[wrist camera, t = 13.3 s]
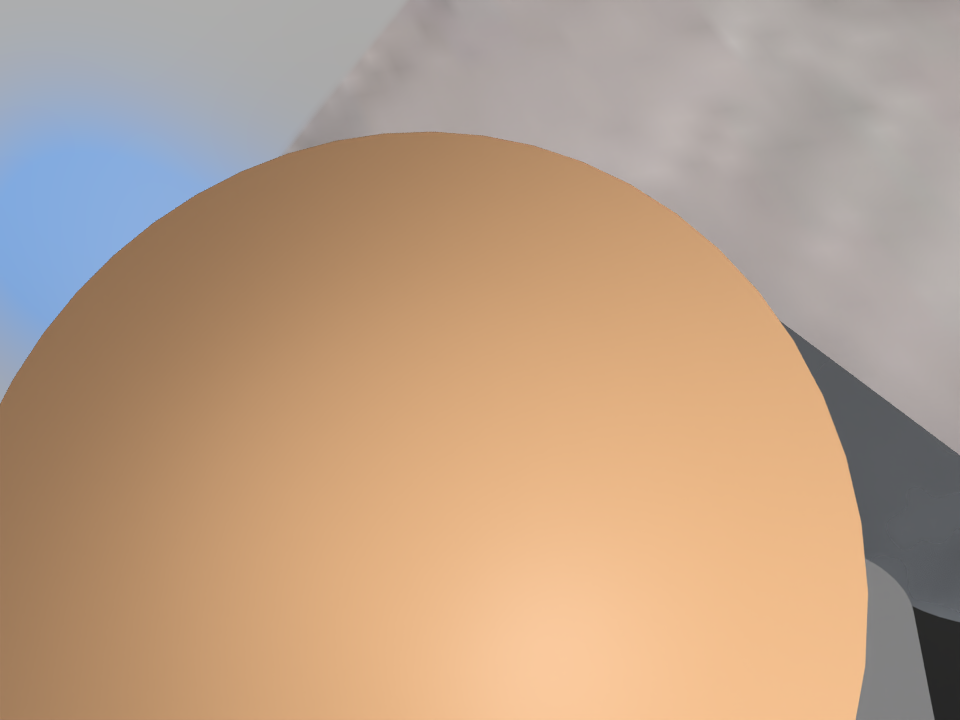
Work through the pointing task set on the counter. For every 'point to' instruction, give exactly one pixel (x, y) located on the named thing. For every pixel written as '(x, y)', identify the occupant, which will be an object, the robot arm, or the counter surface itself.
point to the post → (424, 462)
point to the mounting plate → (897, 487)
